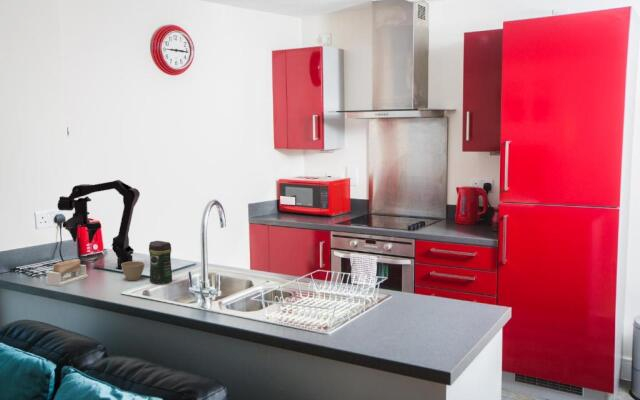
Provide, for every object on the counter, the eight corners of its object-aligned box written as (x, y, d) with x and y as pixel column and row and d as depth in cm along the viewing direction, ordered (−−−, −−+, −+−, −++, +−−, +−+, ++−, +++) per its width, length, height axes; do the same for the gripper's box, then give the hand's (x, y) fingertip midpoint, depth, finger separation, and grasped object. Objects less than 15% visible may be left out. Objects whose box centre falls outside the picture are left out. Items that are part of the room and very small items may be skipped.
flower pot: (126, 283, 268) (126, 267, 267) (118, 278, 276) (117, 263, 275) (148, 279, 274) (147, 264, 273) (139, 275, 282) (138, 260, 281)
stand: (88, 277, 278) (87, 265, 278) (60, 286, 262) (59, 273, 262) (74, 275, 281) (74, 263, 280) (46, 284, 265) (45, 272, 265)
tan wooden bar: (80, 269, 276) (80, 259, 276) (60, 275, 265) (60, 265, 264) (73, 268, 278) (73, 258, 277) (53, 274, 266) (53, 264, 266)
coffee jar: (175, 281, 270) (174, 240, 268) (161, 285, 264) (160, 243, 261) (160, 278, 276) (159, 238, 273) (146, 282, 269) (145, 241, 267)
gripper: (53, 211, 289) (55, 244, 291) (85, 213, 283) (86, 246, 285) (70, 208, 299) (71, 239, 301) (101, 210, 293) (102, 242, 295)
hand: (82, 242), depth 295 cm, fingers open, 9 cm apart
